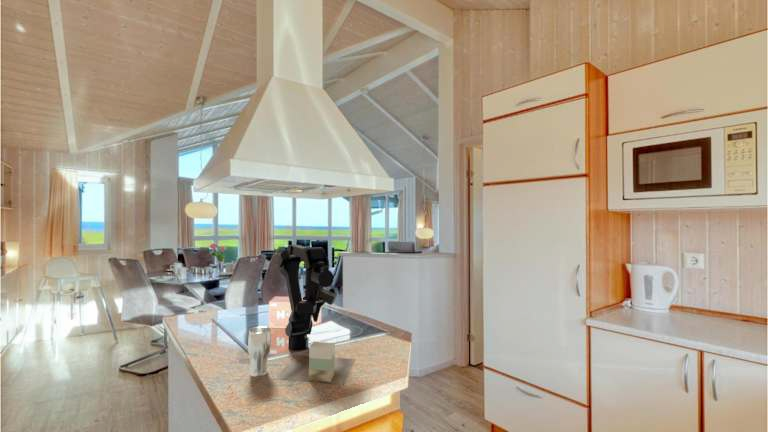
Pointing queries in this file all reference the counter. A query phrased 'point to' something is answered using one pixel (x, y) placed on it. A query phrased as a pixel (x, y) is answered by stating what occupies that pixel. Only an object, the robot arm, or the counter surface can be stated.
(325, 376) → the maple base block
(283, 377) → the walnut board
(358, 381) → the counter surface
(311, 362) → the sage green block
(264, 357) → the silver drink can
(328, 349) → the cream block
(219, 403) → the counter surface
